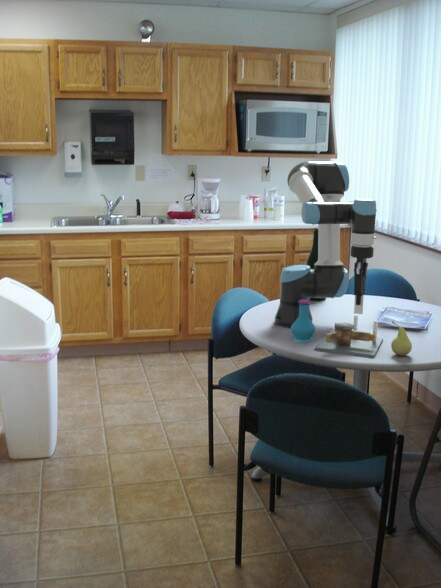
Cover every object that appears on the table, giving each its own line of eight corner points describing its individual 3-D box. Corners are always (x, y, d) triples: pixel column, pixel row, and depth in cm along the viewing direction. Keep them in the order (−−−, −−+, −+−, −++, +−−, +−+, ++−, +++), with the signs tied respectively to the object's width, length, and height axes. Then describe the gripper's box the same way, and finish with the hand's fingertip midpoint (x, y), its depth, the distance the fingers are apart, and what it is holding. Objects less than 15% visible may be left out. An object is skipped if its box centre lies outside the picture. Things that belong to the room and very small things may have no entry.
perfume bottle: (285, 339, 254) (286, 300, 250) (300, 334, 260) (302, 296, 256) (304, 344, 247) (306, 305, 244) (320, 339, 254) (322, 300, 250)
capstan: (324, 347, 239) (325, 329, 238) (334, 335, 254) (335, 317, 253) (371, 353, 234) (372, 334, 232) (378, 340, 249) (379, 322, 247)
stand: (314, 349, 242) (315, 325, 240) (327, 334, 261) (328, 311, 259) (373, 357, 234) (375, 332, 232) (382, 340, 253) (384, 317, 251)
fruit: (409, 359, 233) (412, 325, 230) (387, 356, 236) (390, 323, 233) (412, 353, 239) (414, 321, 236) (390, 351, 242) (392, 318, 239)
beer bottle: (323, 295, 322) (327, 226, 314) (328, 300, 312) (332, 229, 304) (301, 295, 321) (304, 226, 313) (305, 301, 311) (309, 229, 303)
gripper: (370, 248, 221) (366, 319, 226) (376, 243, 233) (372, 310, 238) (347, 247, 223) (343, 316, 229) (354, 242, 235) (350, 308, 240)
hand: (358, 313), depth 233 cm, fingers closed
